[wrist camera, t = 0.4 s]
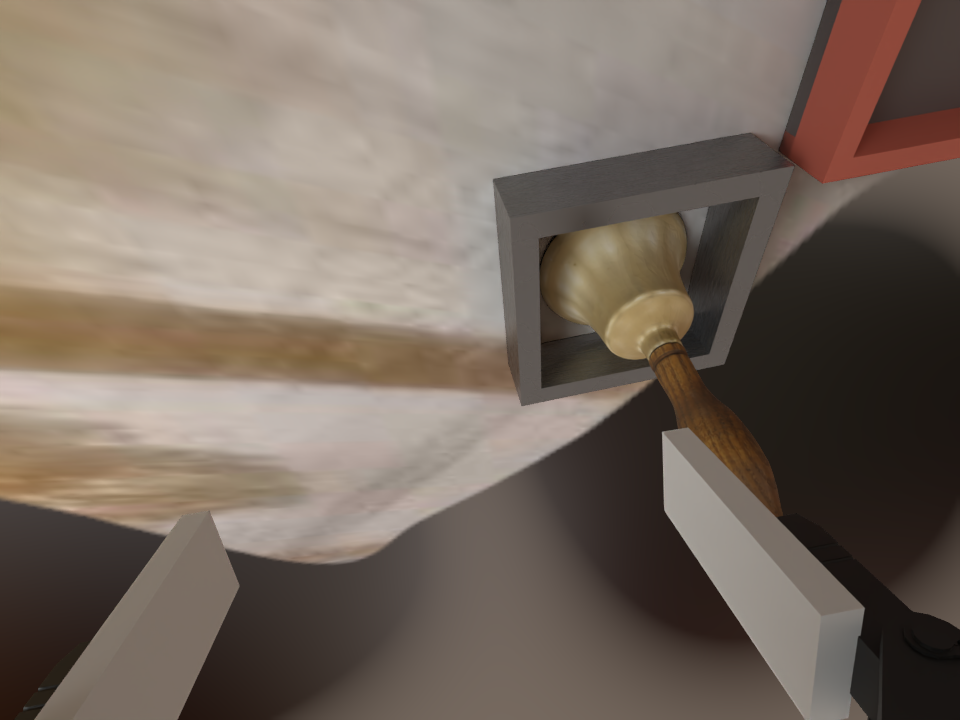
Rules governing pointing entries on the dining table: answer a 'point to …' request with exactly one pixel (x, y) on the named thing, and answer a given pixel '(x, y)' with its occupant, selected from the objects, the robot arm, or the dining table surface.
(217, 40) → the dining table surface
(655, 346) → the hand bell
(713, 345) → the grey square open box
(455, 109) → the dining table surface
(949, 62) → the tray
